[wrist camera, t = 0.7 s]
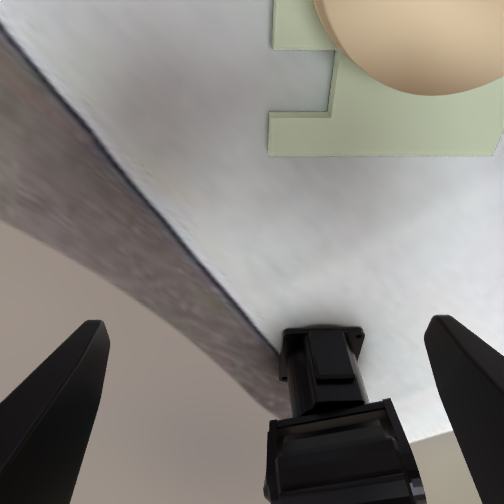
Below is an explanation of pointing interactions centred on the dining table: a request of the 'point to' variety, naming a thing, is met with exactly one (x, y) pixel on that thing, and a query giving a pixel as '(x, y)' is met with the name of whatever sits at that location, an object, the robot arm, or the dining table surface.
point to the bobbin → (420, 41)
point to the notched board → (377, 107)
